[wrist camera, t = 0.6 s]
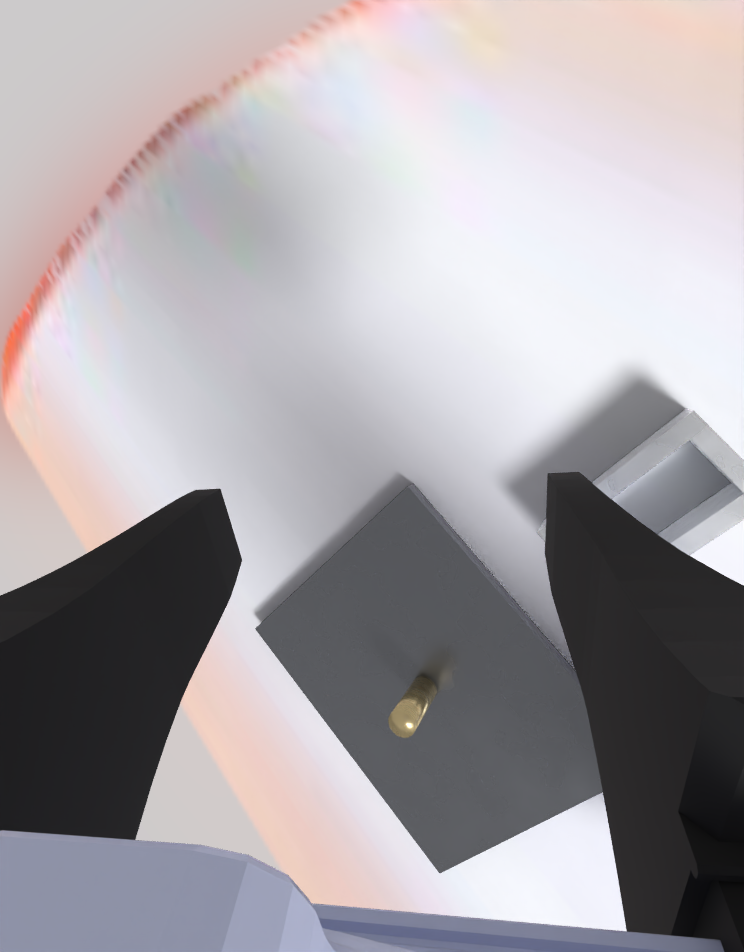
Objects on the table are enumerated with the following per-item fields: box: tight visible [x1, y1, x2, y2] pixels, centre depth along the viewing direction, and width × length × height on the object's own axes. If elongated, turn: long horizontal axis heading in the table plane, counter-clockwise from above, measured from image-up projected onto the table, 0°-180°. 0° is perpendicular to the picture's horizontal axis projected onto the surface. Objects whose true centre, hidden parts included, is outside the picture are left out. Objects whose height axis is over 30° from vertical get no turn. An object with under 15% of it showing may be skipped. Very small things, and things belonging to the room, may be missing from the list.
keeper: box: [255, 484, 603, 873], centre depth 32 cm, size 20×16×5 cm
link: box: [537, 409, 744, 555], centre depth 27 cm, size 9×5×3 cm, turn 134°
